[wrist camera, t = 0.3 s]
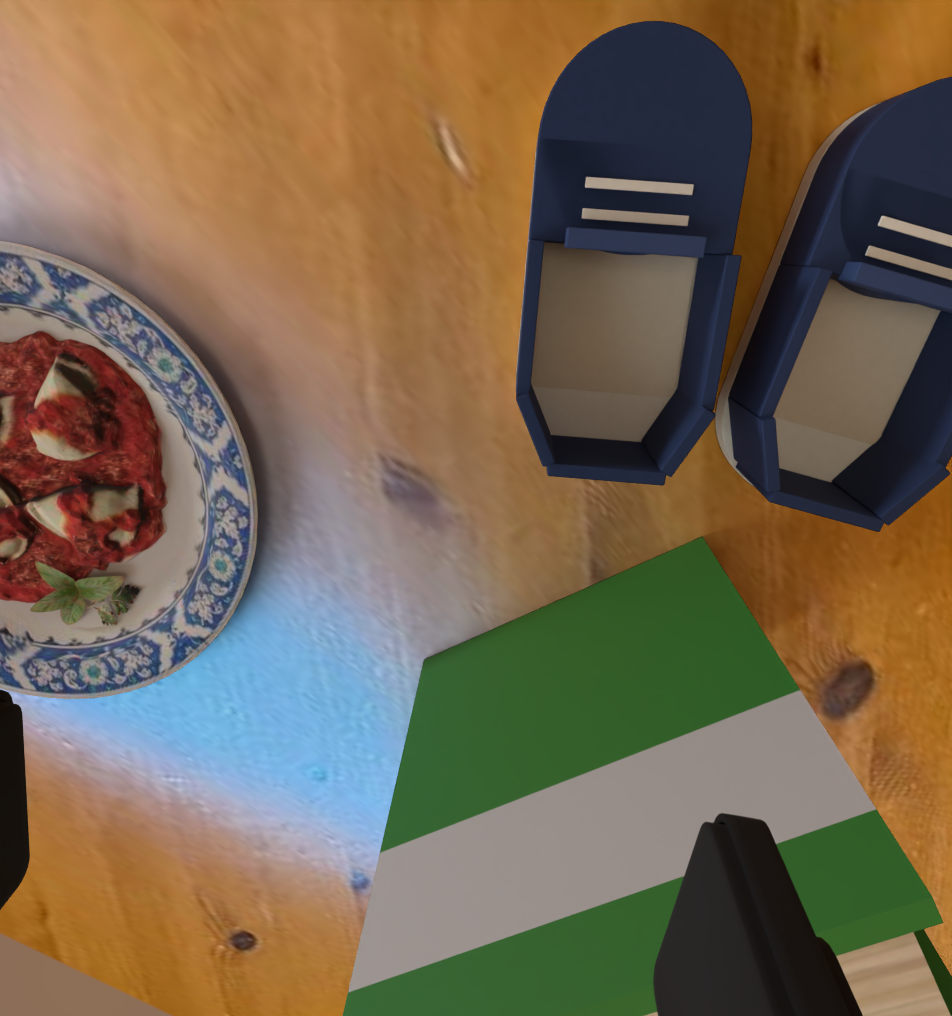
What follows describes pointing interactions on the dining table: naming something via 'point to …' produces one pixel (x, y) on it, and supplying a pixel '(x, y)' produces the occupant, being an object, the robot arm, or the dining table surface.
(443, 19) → the dining table surface
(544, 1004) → the hardback book
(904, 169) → the sneaker
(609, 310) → the sneaker
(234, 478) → the ceramic plate
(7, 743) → the robot arm
